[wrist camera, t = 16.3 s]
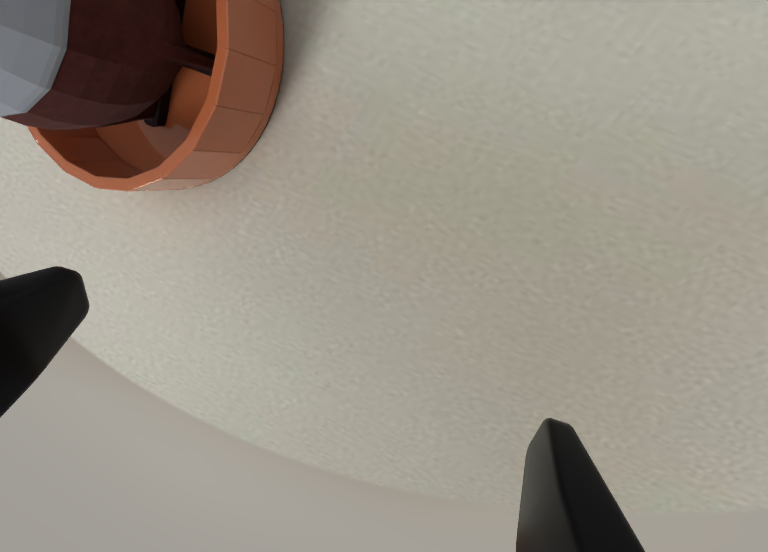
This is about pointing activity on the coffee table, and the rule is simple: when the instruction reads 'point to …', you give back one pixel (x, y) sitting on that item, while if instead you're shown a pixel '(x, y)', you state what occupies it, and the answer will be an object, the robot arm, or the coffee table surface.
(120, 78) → the mate gourd
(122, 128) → the holder
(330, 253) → the coffee table surface
